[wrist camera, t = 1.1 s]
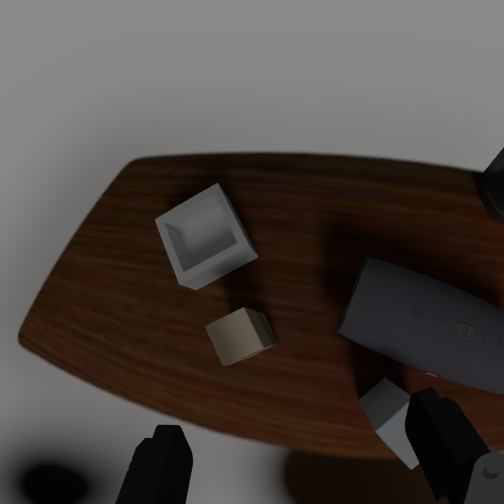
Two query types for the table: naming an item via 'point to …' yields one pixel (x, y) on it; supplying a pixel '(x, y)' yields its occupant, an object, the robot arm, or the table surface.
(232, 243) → the socket stand
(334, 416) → the table surface
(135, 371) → the table surface
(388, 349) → the bluetooth speaker
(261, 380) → the table surface
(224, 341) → the birch peg
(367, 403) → the skincare box
